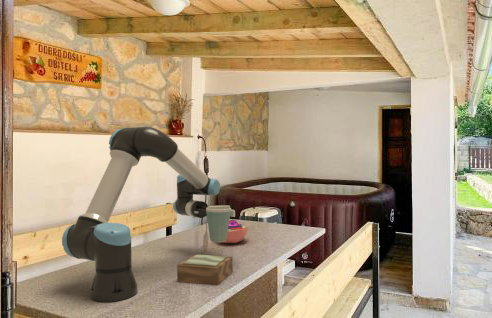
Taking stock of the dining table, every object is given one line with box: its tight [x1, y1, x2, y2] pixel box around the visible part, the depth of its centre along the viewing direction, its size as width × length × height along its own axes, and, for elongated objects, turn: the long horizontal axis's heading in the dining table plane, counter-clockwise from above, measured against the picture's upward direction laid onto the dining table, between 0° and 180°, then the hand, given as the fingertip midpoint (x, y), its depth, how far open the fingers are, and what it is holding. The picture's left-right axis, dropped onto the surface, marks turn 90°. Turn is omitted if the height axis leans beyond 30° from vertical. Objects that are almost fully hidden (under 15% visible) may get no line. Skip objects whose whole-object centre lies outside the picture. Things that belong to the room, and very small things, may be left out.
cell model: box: [224, 219, 248, 244], centre depth 210 cm, size 17×20×11 cm
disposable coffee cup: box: [206, 205, 233, 244], centre depth 167 cm, size 11×11×15 cm
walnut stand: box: [176, 254, 234, 286], centre depth 153 cm, size 16×16×6 cm
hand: (230, 214), depth 167 cm, fingers open, 3 cm apart
